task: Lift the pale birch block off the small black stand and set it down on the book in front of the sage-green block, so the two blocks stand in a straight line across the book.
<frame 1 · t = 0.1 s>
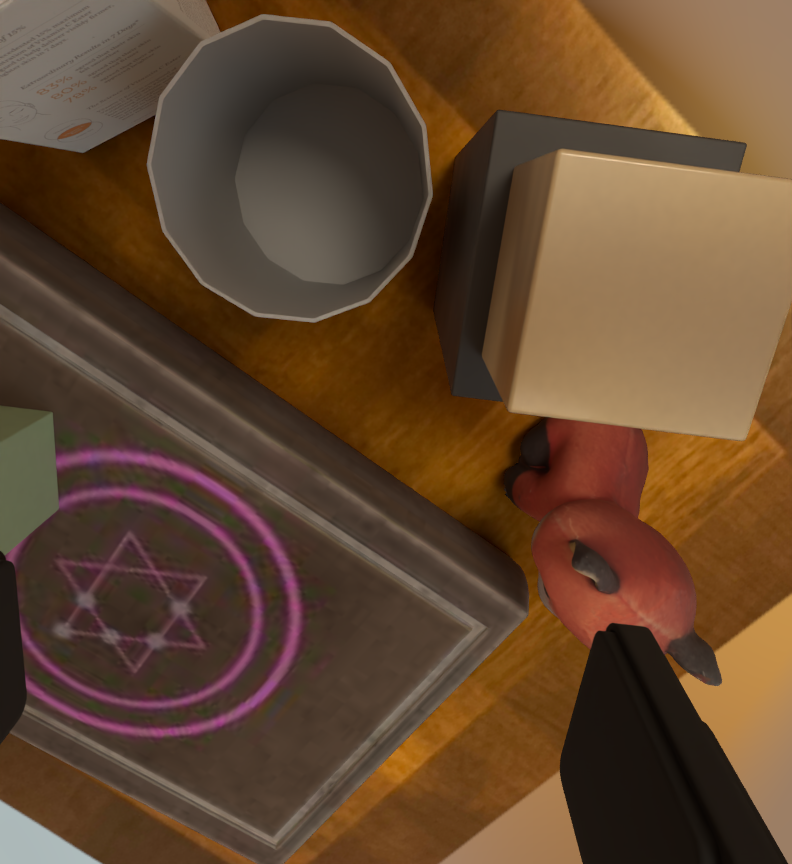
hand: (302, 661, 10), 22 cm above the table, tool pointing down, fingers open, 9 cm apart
stuffed fox: (596, 446, 32), on the table
book: (171, 543, 34), on the table, touching sage block
small box: (122, 38, 26), on the table
birch block: (589, 278, 15), point 14 cm above the table, touching stand
stand: (507, 245, 29), on the table
sage block: (3, 455, 27), point 5 cm above the table, touching book
cup: (331, 189, 28), on the table
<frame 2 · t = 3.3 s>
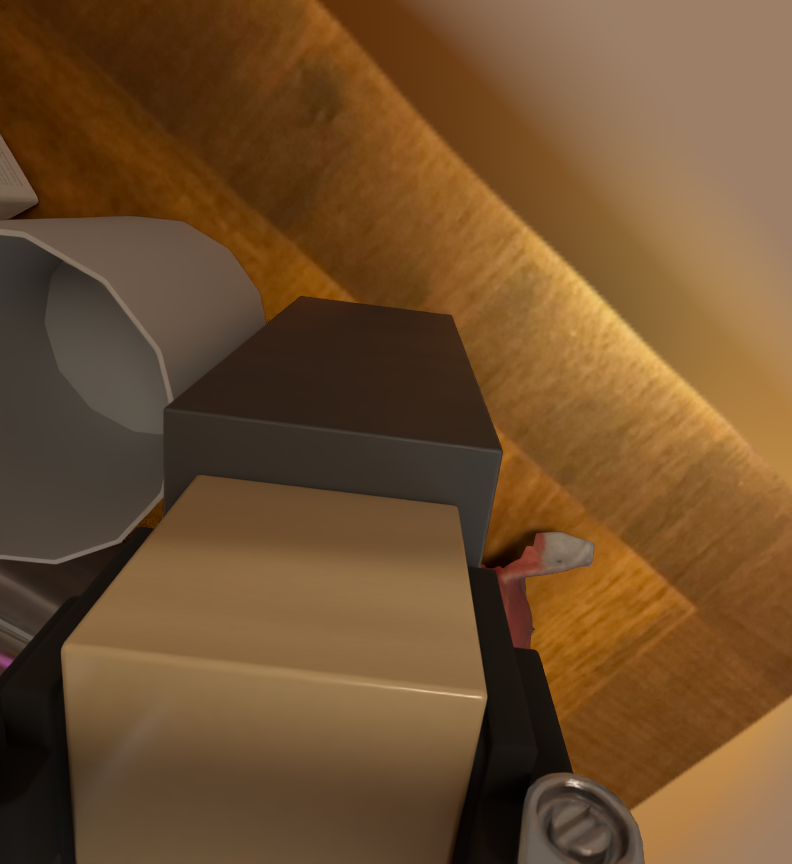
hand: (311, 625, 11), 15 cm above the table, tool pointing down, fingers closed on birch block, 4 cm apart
stuffed fox: (484, 601, 28), on the table
book: (23, 695, 31), on the table, touching sage block
birch block: (317, 599, 12), point 14 cm above the table, touching gripper, stand
stand: (366, 391, 25), on the table
cup: (162, 329, 24), on the table
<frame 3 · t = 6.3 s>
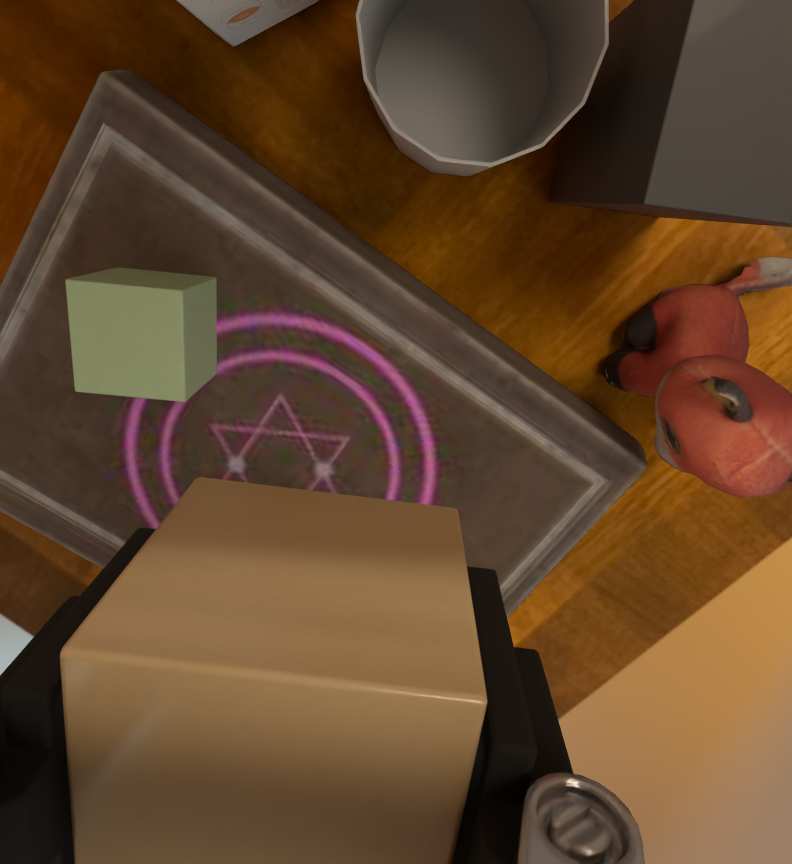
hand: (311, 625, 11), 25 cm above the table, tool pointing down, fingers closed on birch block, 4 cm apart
stuffed fox: (691, 334, 34), on the table
book: (296, 427, 37), on the table, touching sage block
birch block: (317, 601, 12), point 24 cm above the table, touching gripper
stand: (620, 136, 31), on the table
sage block: (168, 321, 30), point 5 cm above the table, touching book
cup: (460, 82, 30), on the table
when the fingers open (6 cm above the table, at t = 9.6 s): birch block stays where it is, resting on book.
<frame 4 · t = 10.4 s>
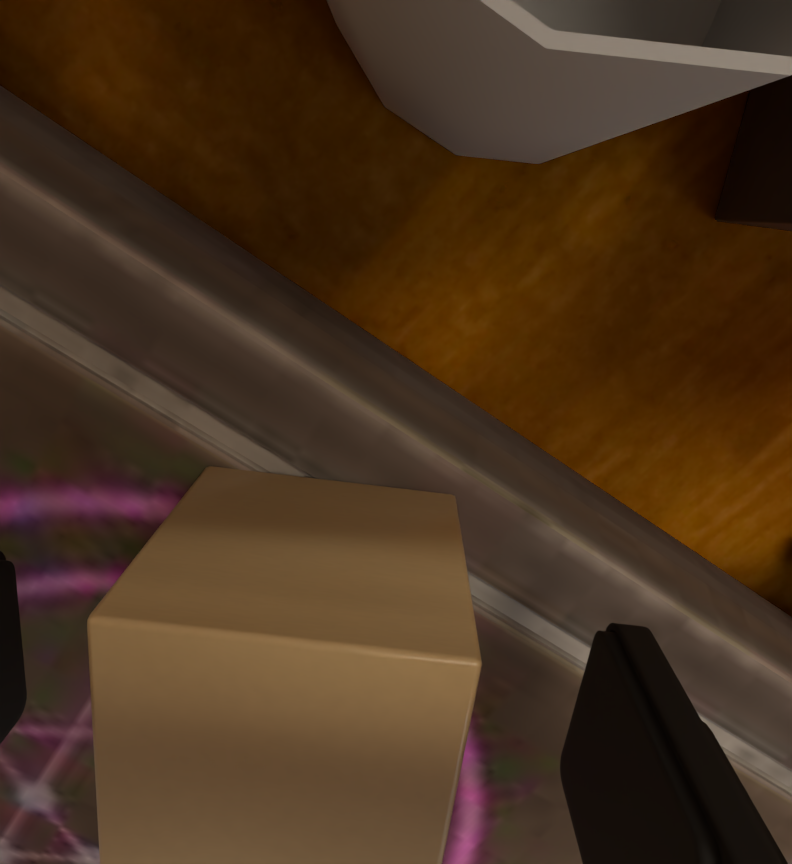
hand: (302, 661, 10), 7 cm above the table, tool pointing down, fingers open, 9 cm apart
book: (202, 643, 19), on the table, touching birch block, sage block
birch block: (321, 585, 12), point 5 cm above the table, touching book
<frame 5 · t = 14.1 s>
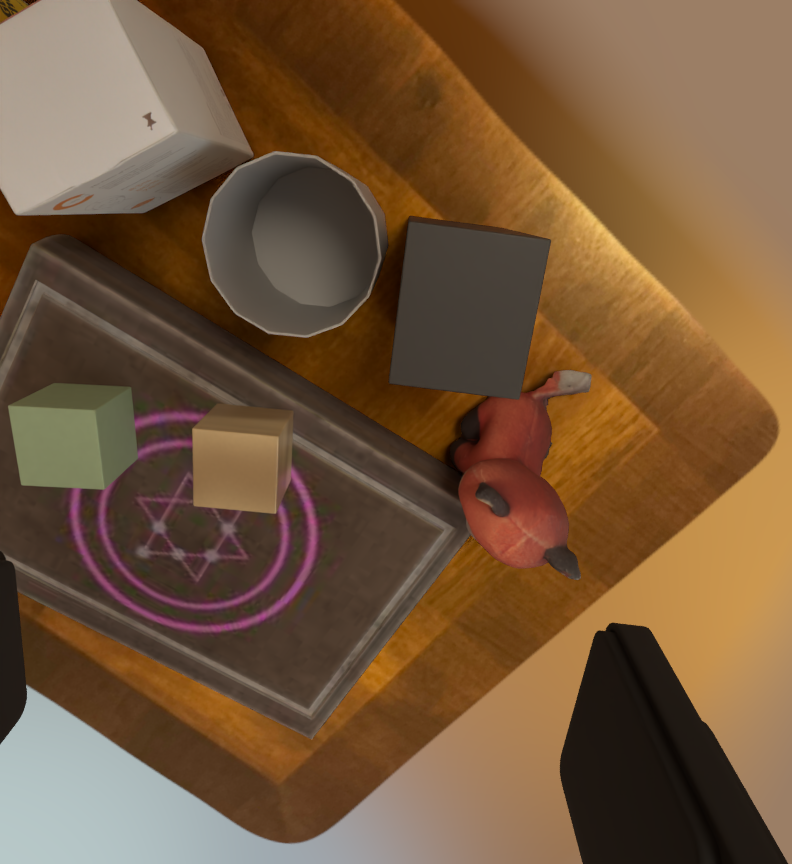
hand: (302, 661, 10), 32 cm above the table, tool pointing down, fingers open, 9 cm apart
pill bottle: (14, 62, 36), on the table
stuffed fox: (519, 425, 43), on the table
book: (216, 489, 45), on the table, touching birch block, sage block
small box: (172, 134, 37), on the table
birch block: (254, 442, 38), point 5 cm above the table, touching book
stand: (447, 278, 40), on the table
sage block: (97, 421, 38), point 5 cm above the table, touching book
cup: (320, 238, 39), on the table
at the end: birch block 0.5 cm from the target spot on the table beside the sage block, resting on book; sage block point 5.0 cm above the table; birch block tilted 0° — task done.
